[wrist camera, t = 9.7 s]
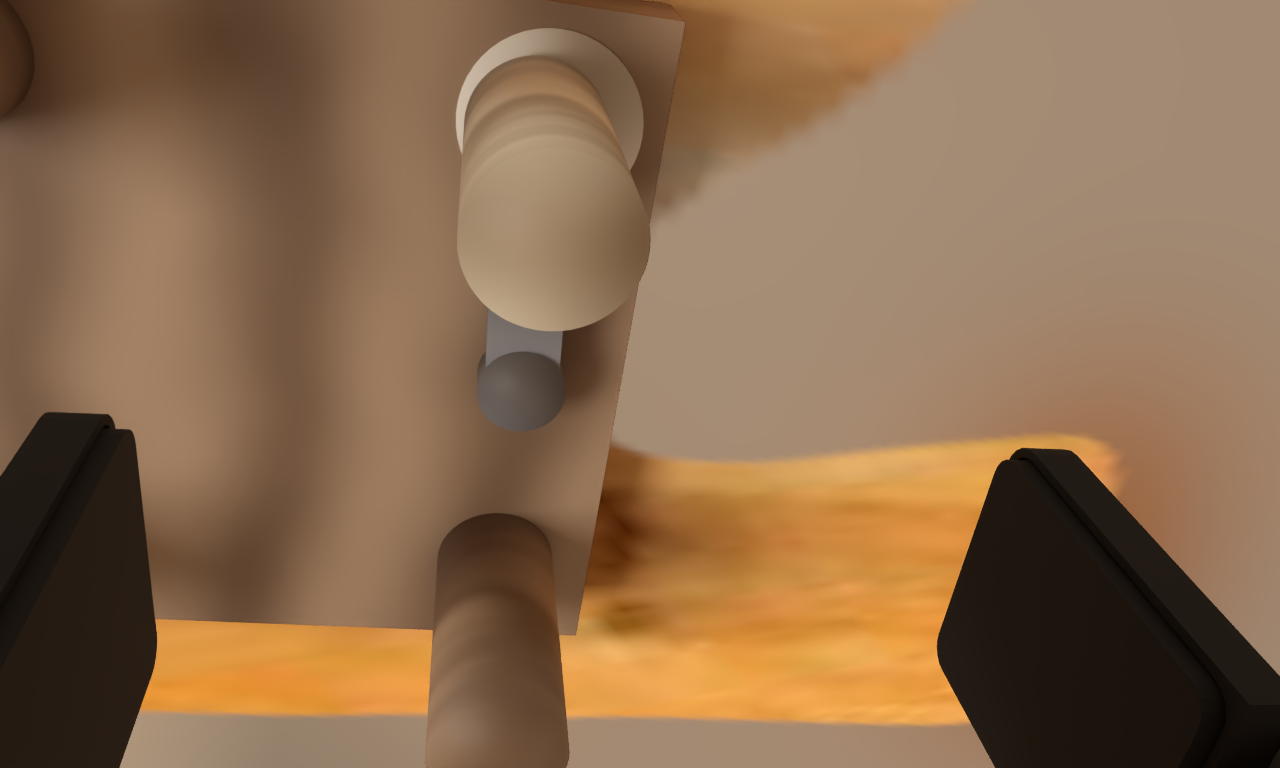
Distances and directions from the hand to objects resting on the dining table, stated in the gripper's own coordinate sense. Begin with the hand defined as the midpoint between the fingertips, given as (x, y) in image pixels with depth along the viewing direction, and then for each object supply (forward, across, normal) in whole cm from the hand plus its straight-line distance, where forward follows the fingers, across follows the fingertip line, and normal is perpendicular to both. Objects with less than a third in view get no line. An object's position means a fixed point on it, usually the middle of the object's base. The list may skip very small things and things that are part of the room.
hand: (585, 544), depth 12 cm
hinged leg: (+17, -1, +3) cm, 18 cm away
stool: (+20, +6, +7) cm, 22 cm away
